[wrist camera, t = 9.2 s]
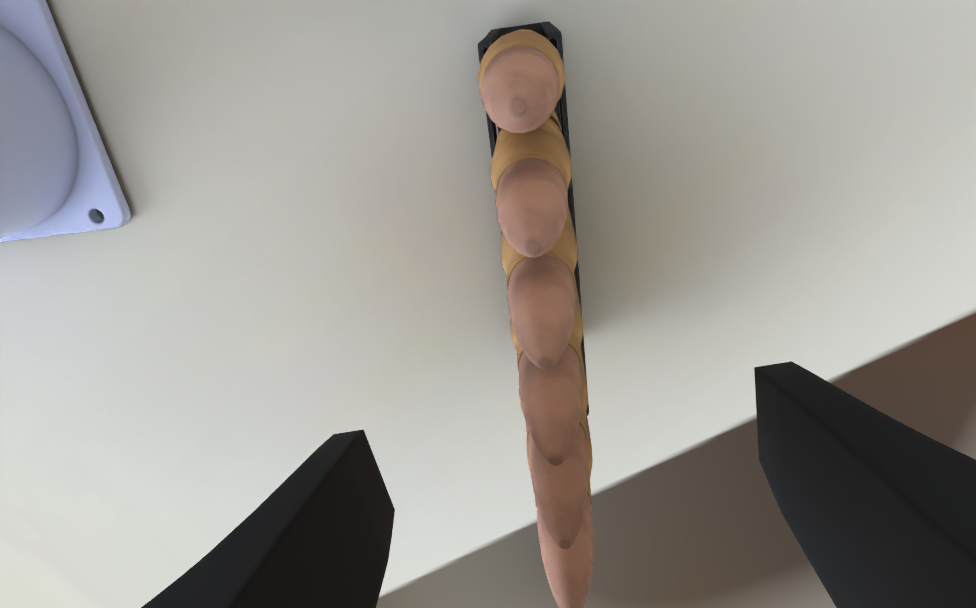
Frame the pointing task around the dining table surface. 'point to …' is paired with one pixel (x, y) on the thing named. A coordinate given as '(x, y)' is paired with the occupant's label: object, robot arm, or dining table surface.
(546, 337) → the ammunition clip
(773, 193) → the dining table surface
